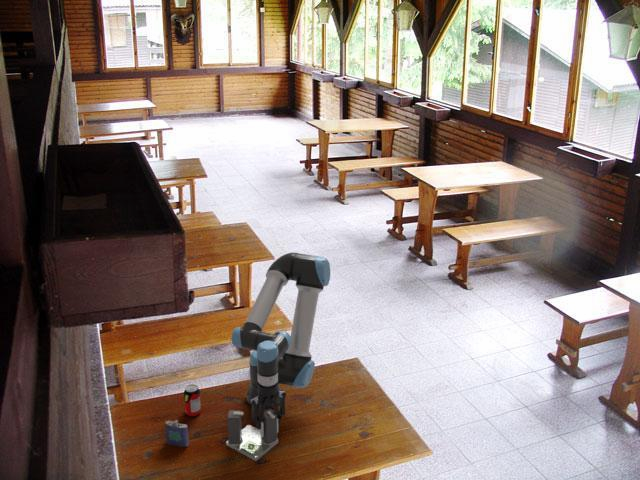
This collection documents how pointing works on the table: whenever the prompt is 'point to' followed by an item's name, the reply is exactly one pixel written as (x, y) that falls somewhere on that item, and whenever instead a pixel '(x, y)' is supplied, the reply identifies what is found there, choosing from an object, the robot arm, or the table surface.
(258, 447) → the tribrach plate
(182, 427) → the flask
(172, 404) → the table surface
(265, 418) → the grey tall block
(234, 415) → the grey upright post
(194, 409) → the beverage can
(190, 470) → the table surface
